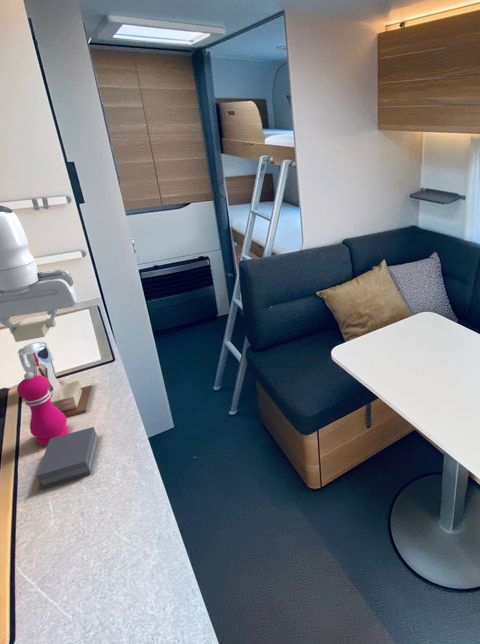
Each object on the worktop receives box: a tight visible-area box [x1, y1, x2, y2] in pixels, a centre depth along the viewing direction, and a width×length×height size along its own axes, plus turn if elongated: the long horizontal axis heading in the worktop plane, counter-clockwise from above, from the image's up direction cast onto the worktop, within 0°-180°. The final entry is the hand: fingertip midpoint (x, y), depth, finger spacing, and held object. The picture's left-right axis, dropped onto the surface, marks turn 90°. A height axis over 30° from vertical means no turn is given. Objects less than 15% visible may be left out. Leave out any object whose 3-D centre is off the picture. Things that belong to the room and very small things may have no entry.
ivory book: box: [12, 314, 51, 343], centre depth 98 cm, size 6×8×2 cm
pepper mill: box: [16, 372, 69, 446], centre depth 100 cm, size 7×7×20 cm
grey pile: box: [36, 426, 99, 490], centre depth 96 cm, size 9×12×4 cm
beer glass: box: [17, 341, 62, 394], centre depth 119 cm, size 7×7×15 cm
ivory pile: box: [50, 380, 94, 418], centre depth 114 cm, size 10×12×5 cm
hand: (34, 329), depth 98 cm, fingers closed on ivory book, 5 cm apart
